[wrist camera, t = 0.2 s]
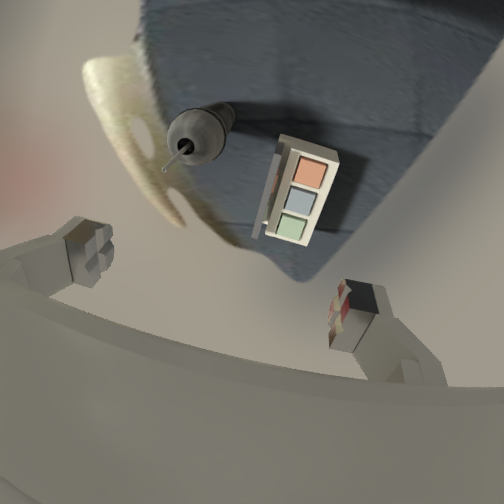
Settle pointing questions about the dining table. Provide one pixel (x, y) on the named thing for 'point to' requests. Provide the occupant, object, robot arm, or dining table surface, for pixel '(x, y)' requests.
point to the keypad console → (283, 179)
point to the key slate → (300, 200)
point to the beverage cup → (199, 134)
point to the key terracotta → (310, 172)
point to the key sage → (290, 226)
